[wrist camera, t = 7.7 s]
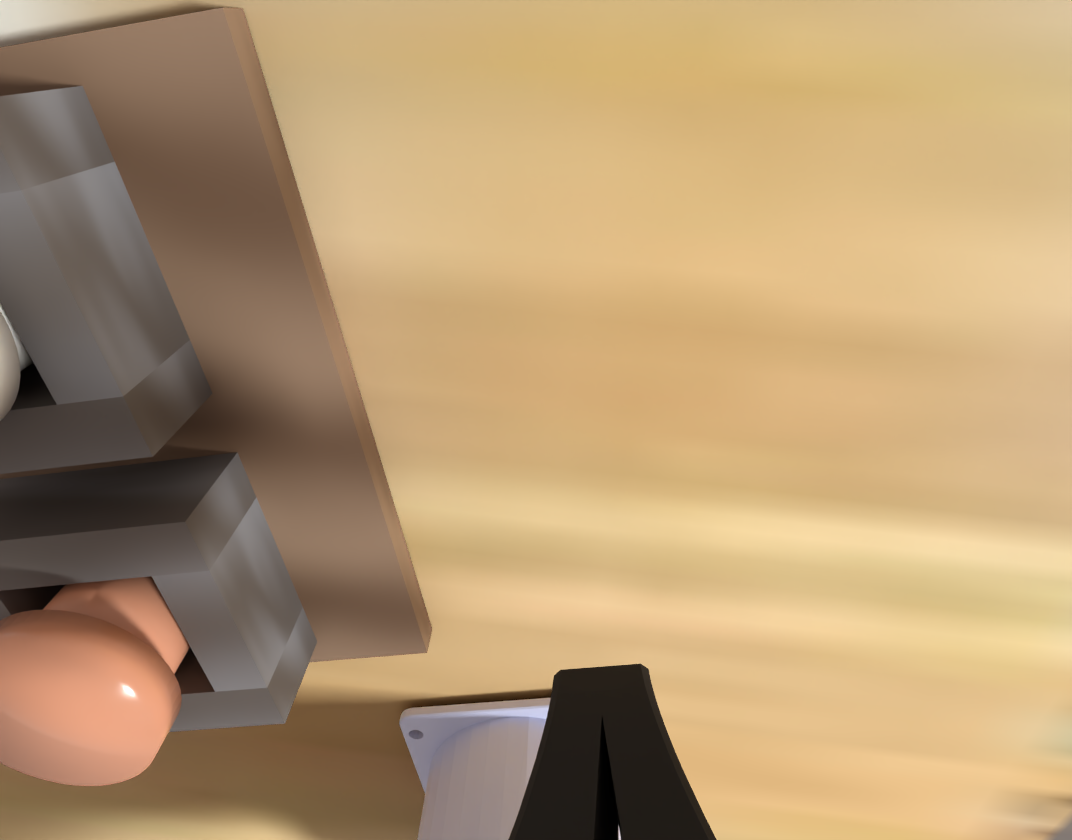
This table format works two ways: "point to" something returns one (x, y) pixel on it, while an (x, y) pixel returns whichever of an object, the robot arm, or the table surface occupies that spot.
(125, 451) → the board
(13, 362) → the pale plunger
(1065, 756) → the table surface
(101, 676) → the rust plunger
